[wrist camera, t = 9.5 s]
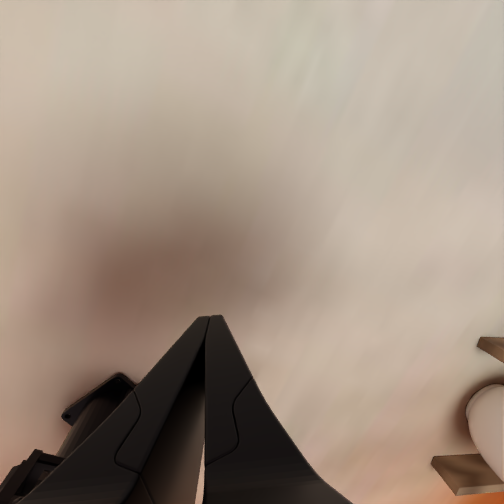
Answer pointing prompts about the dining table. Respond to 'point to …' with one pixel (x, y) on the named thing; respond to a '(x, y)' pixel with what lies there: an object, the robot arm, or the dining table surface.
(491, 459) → the lidded jar
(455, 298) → the dining table surface
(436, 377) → the dining table surface
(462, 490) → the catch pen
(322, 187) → the dining table surface
